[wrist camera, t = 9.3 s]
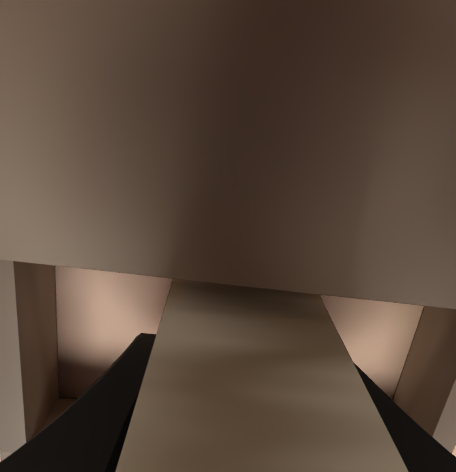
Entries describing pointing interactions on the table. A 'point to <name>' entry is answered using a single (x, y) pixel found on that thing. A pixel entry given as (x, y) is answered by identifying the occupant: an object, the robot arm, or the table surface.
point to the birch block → (252, 389)
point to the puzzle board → (228, 167)
